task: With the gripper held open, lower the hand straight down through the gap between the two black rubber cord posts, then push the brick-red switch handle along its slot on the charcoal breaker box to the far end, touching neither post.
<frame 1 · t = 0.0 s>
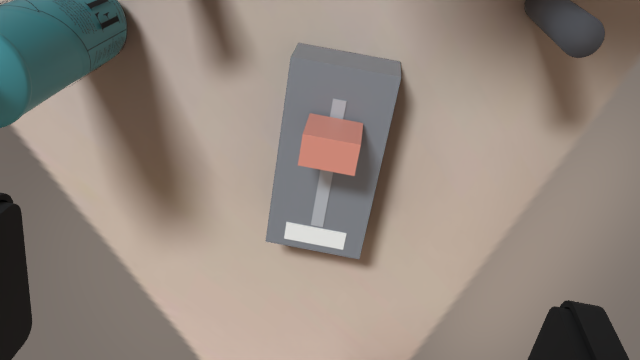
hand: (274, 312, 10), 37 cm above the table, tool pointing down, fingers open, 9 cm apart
beverage bottle: (98, 17, 46), on the table
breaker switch: (331, 143, 42), point 6 cm above the table, slide at 0.0 cm
breaker box: (332, 145, 49), on the table
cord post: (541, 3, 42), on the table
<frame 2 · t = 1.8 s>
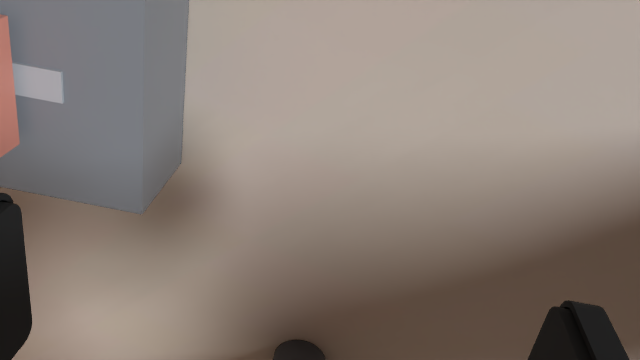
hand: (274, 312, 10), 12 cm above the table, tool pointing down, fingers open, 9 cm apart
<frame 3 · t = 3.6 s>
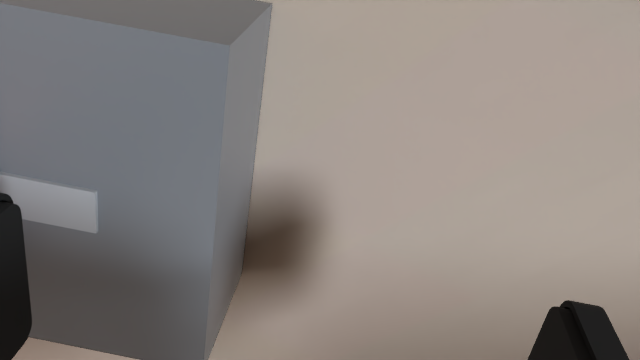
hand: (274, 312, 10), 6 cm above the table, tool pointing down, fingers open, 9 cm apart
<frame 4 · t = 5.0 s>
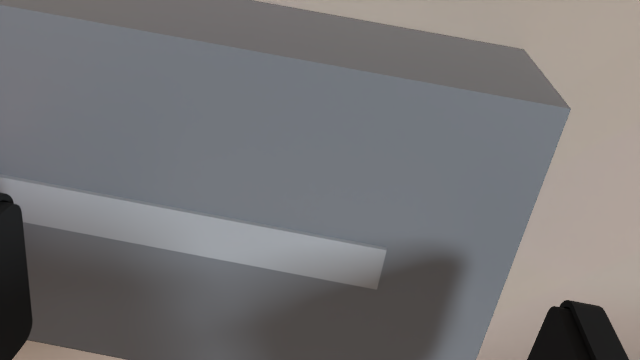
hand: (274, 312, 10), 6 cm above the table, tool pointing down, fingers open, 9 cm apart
breaker box: (181, 141, 16), on the table
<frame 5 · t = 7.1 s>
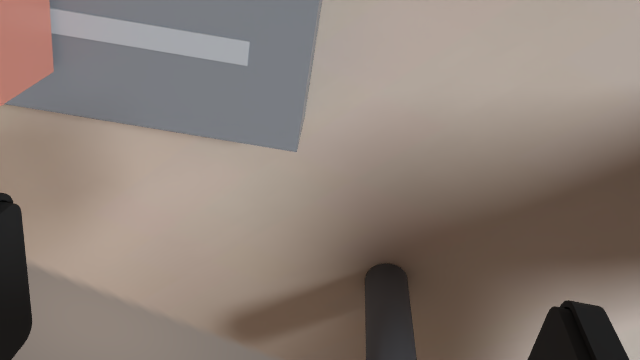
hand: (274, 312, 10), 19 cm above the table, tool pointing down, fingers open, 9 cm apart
breaker box: (145, 10, 27), on the table
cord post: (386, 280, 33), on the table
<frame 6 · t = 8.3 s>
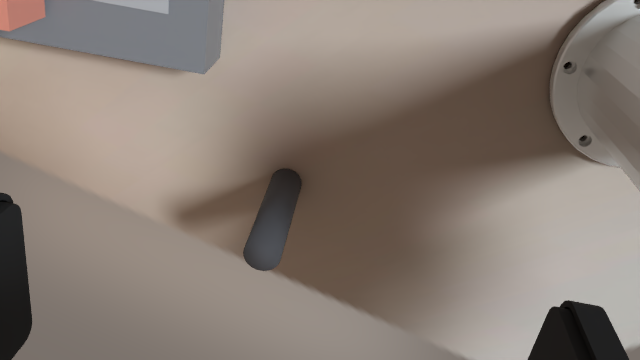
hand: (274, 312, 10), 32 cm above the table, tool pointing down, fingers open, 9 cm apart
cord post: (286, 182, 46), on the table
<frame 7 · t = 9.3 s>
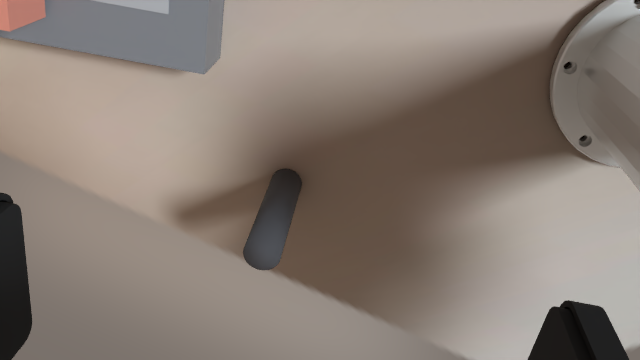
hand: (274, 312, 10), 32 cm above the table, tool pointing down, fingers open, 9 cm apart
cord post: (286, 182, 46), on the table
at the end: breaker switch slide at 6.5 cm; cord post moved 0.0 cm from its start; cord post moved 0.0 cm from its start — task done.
